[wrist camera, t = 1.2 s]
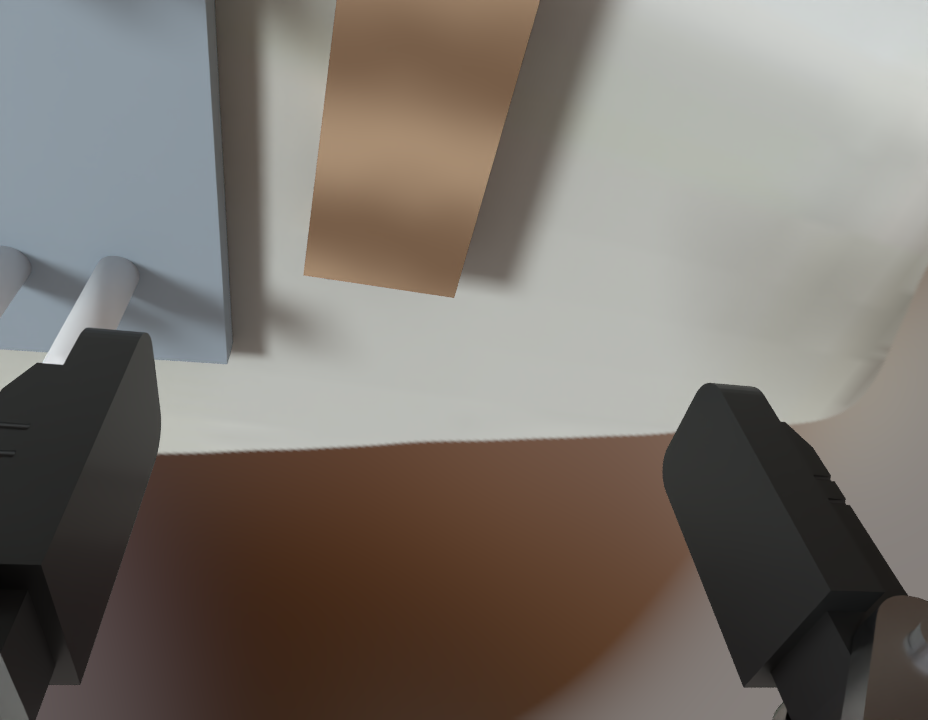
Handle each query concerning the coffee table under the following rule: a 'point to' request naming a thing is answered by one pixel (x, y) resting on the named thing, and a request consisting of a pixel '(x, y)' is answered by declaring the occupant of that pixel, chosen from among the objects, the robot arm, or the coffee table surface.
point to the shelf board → (411, 136)
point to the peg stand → (112, 177)
